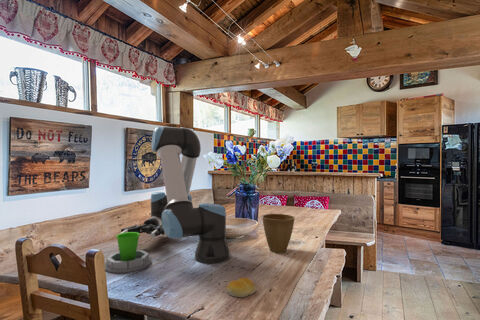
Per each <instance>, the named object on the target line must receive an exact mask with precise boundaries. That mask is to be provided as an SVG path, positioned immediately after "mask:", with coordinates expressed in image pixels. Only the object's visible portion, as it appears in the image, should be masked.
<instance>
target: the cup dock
mask: <svg viewBox="0 0 480 320" xmlns="http://www.w3.org/2000/svg"><path fill="white" fill-rule="evenodd" d="M151 264H152V258H151V257H150V253H149V252H147V251H145V250H142V249H137V251H136V257H135V260H131V261H121V258H120V252H119V251H118V252H113V253H112V254H110V255H109V256H107V257H106V261H105V268H106V272H107V273H112V274H127V273H129V274H130V273H134V272H138V271H141V270H144V269H146V268H148V267H149V266H150V265H151Z"/></svg>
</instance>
